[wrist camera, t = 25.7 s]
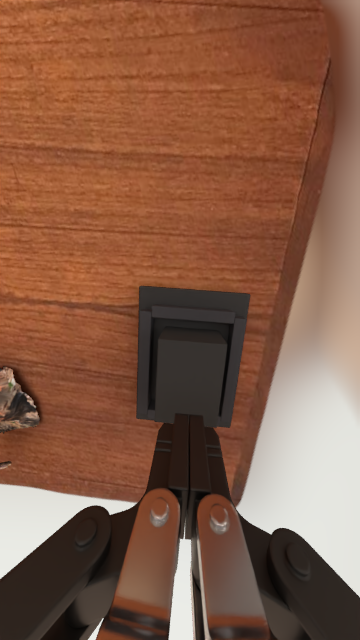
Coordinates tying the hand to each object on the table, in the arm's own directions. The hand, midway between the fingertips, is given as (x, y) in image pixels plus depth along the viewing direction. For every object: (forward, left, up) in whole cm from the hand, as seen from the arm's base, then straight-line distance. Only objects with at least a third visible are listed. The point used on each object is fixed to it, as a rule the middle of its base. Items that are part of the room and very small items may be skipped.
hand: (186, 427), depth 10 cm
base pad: (0, 0, -9) cm, 9 cm away
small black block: (0, 0, -8) cm, 8 cm away
